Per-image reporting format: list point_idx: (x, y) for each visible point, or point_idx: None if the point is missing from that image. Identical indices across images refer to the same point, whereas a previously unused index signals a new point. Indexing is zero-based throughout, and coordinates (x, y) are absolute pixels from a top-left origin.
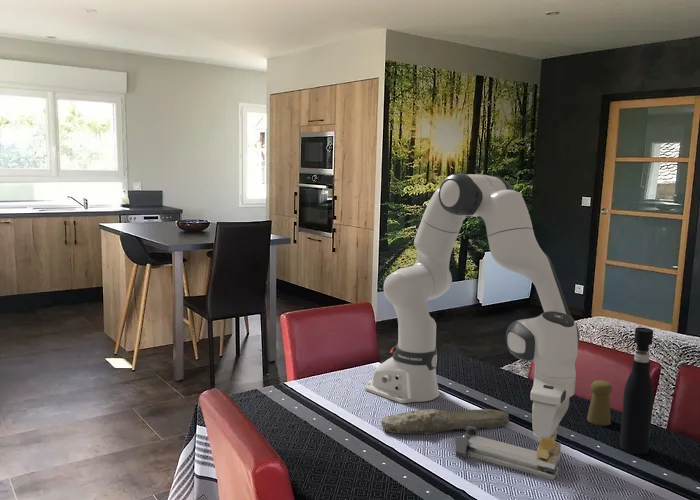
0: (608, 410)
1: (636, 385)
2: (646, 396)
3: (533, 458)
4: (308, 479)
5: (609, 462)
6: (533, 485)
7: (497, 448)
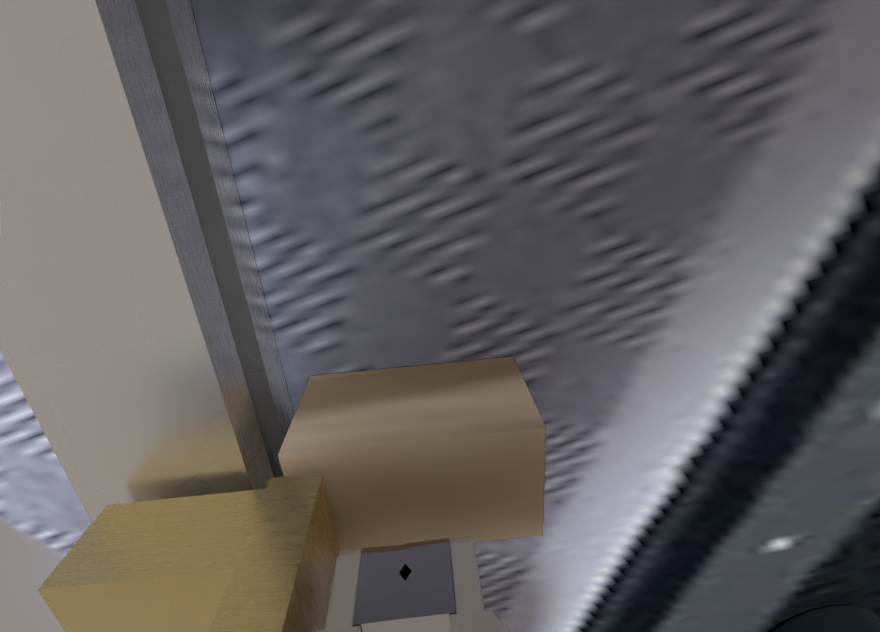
0: None
1: None
2: None
3: (78, 482)
4: None
5: (605, 619)
6: (30, 446)
7: None
